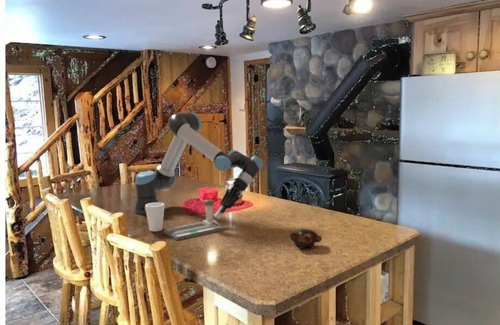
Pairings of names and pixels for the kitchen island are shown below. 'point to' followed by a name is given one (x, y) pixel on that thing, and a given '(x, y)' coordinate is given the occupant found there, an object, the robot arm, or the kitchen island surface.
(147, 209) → the foam cup
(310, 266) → the kitchen island surface
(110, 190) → the kitchen island surface
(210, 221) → the tuning slider
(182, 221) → the kitchen island surface
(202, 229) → the board
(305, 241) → the decorative turtle
